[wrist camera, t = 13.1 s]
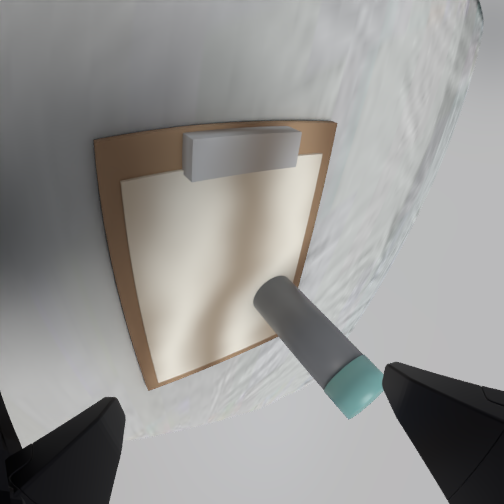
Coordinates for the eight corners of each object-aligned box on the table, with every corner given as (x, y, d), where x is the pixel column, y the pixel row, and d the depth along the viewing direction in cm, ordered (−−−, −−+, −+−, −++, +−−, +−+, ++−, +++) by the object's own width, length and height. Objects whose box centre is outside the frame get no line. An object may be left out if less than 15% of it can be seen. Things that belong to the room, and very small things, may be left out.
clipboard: (146, 386, 23) (154, 402, 22) (93, 140, 11) (97, 150, 10) (282, 330, 30) (292, 341, 29) (332, 121, 18) (351, 129, 17)
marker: (250, 316, 24) (340, 426, 17) (255, 282, 22) (362, 402, 15) (285, 302, 26) (375, 399, 19) (294, 269, 24) (398, 373, 16)
